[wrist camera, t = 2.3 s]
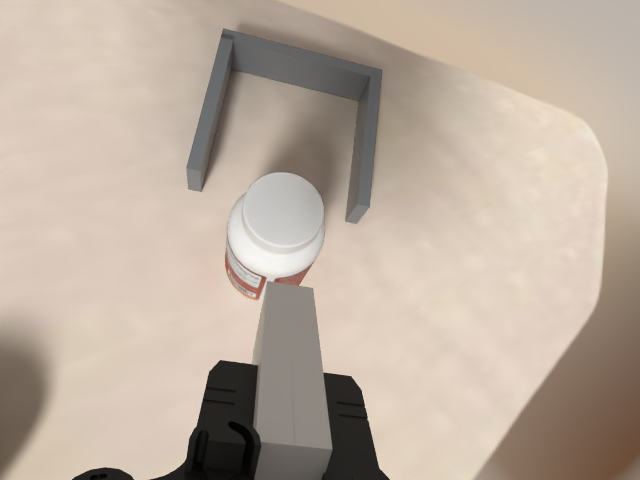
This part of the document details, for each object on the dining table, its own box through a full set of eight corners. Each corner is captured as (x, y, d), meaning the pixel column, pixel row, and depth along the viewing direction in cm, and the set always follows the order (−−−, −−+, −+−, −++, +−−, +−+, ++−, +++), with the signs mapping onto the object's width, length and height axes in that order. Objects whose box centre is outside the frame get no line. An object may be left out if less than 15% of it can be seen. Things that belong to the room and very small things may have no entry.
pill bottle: (305, 232, 38) (339, 167, 28) (301, 306, 36) (337, 265, 26) (228, 223, 37) (235, 152, 27) (219, 300, 35) (223, 253, 24)
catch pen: (356, 223, 39) (369, 206, 36) (188, 189, 37) (186, 168, 34) (369, 94, 44) (382, 69, 41) (222, 57, 42) (223, 28, 39)
